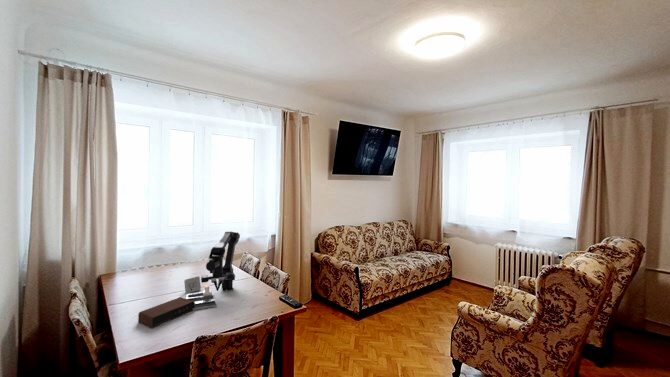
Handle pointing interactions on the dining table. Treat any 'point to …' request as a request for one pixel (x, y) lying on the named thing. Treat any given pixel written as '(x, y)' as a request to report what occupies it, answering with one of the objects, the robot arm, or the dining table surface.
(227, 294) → the dining table surface
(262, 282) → the dining table surface
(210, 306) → the rounded grey rails
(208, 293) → the breaker lever
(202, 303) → the breaker panel
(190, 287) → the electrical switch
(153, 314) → the dark wooden block
